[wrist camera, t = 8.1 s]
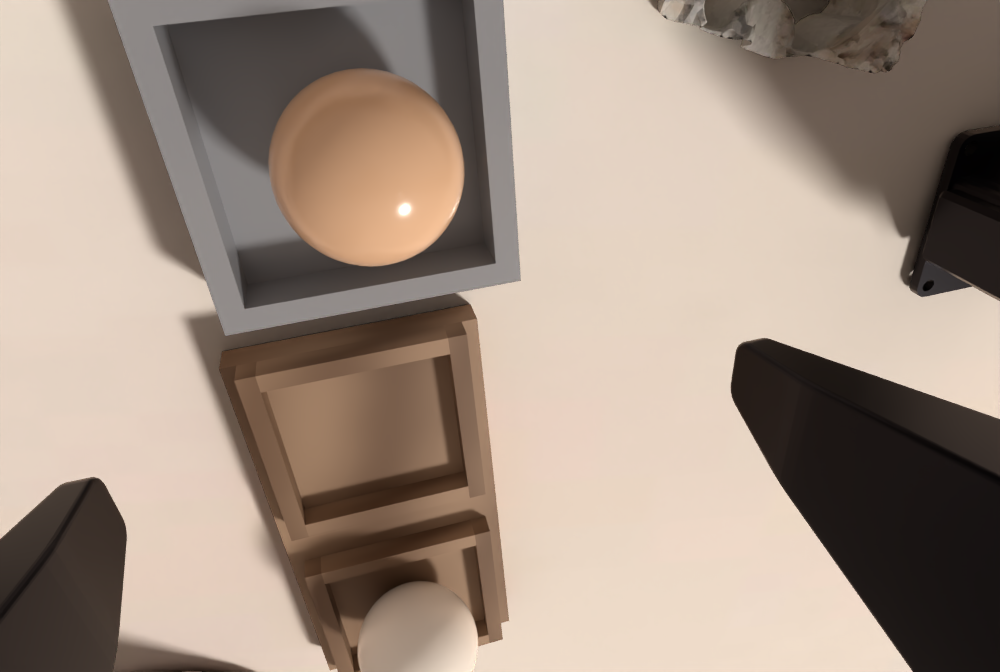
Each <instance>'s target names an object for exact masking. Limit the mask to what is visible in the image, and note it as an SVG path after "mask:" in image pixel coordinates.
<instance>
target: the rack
mask: <svg viewBox="0 0 1000 672" xmlns="http://www.w3.org/2000/svg"><path fill="white" fill-rule="evenodd" d="M219 370H220V373H221V376H222V378H223V381H224V384H225V386H226V389H227V392H228V395H229V397H230V400H231V403H232V405H233V408H234V411H235V414H236V416H237V419H238V422H239V424H240V427H241V430H242V433H243V435H244V438H245V441H246V443H247V446H248V449H249V452H250V454H251V457H252V460H253V462H254V465H255V468H256V471H257V473H258V476H259V479H260V481H261V484H262V487H263V490H264V492H265V495H266V498H267V500H268V503H269V506H270V509H271V511H272V514H273V517H274V519H275V522H276V525H277V528H278V530H279V533H280V536H281V538H282V541H283V544H284V547H285V549H286V552H287V555H288V557H289V560H290V563H291V566H292V568H293V571H294V574H295V576H296V579H297V582H298V585H299V587H300V590H301V593H302V595H303V598H304V601H305V604H306V606H307V609H308V612H309V614H310V617H311V620H312V623H313V625H314V628H315V631H316V633H317V636H318V639H319V642H320V644H321V647H322V650H323V652H324V655H325V658H326V661H327V663H328V666H329V669H330V670H333V669H336V668H337V670H338V672H361V671H360V668H359V662H358V651H357V649H358V638H359V633H360V629H361V626H362V624H363V621H364V619H365V617H366V615H367V613H368V612H369V610H370V609H371V607H372V606H373V605H374V603H375V602H376V601H377V600H378V599H379V598H380V597H381V596H382V595H384V594H385V593H386V592H388V591H389V590H391V589H393V588H395V587H397V586H399V585H401V584H404V583H408V582H413V581H428V582H434V583H437V584H440V585H442V586H445V587H447V588H448V589H450V590H452V591H453V592H454V593H456V594H457V595H458V596H459V597H460V598H461V599H462V600H463V601H464V603H465V604H466V605H467V607H468V608H469V610H470V612H471V614H472V616H473V618H474V621H475V625H476V628H477V634H478V646H481V645H484V644H488V643H491V642H495V641H498V640H502V639H503V637H502V629H501V623H502V622H506V621H509V617H508V607H507V598H506V588H505V579H504V570H503V560H502V551H501V541H500V532H499V522H498V513H497V504H496V494H495V485H494V475H493V466H492V457H491V447H490V438H489V428H488V419H487V409H486V400H485V391H484V381H483V372H482V362H481V353H480V344H479V334H478V325H477V318H476V316H475V314H474V311H473V309H472V307H471V305H470V304H469V305H463V306H458V307H453V308H448V309H442V310H437V311H432V312H427V313H421V314H416V315H411V316H406V317H400V318H395V319H390V320H385V321H380V322H374V323H369V324H364V325H359V326H353V327H348V328H343V329H338V330H332V331H327V332H322V333H317V334H311V335H306V336H301V337H296V338H291V339H285V340H280V341H275V342H270V343H264V344H259V345H254V346H249V347H243V348H238V349H233V350H228V351H222V355H221V361H220V367H219Z"/></svg>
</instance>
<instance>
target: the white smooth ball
mask: <svg viewBox="0 0 1000 672" xmlns="http://www.w3.org/2000/svg"><path fill="white" fill-rule="evenodd" d="M357 651H358V662H359V668H360V671H361V672H473V669H474V667H475V663H476V659H477V653H478V634H477V628H476V625H475V621H474V618H473V616H472V614H471V612H470V610H469V608H468V607H467V605H466V604H465V603H464V601H463V600H462V599H461V598H460V597H459V596H458V595H457V594H456V593H454V592H453V591H452V590H450V589H448V588H447V587H445V586H442V585H440V584H437V583H434V582H428V581H413V582H408V583H404V584H401V585H399V586H397V587H395V588H393V589H391V590H389V591H388V592H386V593H385V594H384V595H382V596H381V597H380V598H379V599H378V600H377V601H376V602H375V603H374V605H373V606H372V607H371V609H370V610H369V612H368V613H367V615H366V617H365V619H364V621H363V624H362V626H361V629H360V633H359V638H358V649H357Z"/></svg>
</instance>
